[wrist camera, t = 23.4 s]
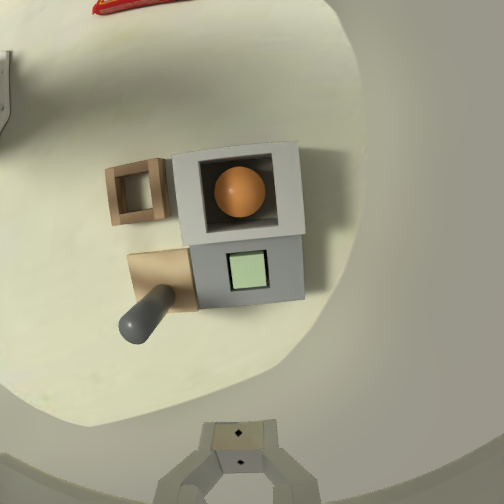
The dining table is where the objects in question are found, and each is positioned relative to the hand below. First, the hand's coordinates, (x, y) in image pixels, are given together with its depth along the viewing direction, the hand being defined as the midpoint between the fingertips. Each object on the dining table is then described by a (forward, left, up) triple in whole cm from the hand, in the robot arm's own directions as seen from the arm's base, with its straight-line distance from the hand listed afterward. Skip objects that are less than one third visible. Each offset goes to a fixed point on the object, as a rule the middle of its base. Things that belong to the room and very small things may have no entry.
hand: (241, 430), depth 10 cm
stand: (-10, -12, -25) cm, 30 cm away
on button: (0, 0, -24) cm, 24 cm away
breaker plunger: (-8, 0, -24) cm, 26 cm away
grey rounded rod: (+3, -11, -24) cm, 27 cm away
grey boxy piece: (-4, 0, -25) cm, 25 cm away
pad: (+1, -11, -25) cm, 27 cm away
